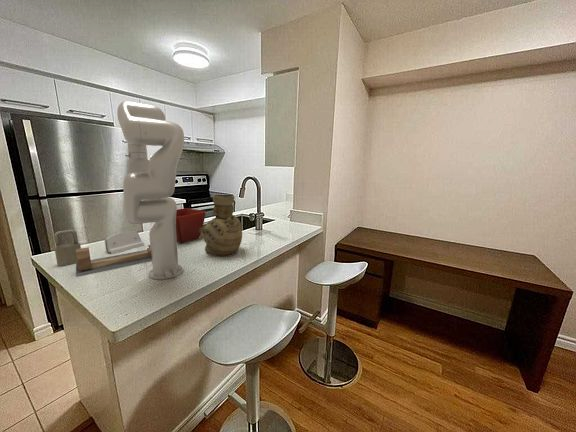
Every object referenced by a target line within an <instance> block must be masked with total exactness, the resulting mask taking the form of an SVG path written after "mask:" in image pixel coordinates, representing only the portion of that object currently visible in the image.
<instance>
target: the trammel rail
mask: <svg viewBox="0 0 576 432" xmlns="http://www.w3.org/2000/svg"><path fill="white" fill-rule="evenodd" d="M146 248H147V249H146V250H147V252H142V253H137V254H131V255H126V256H121V257H115V258H110V259H105V260H99V261H94V262H91V265H92V268H95V267H100V266H105V265H110V264H115V263H120V262H125V261H130V260H135V259H139V258H144V257H151V247H150V244H148V247H146Z"/></svg>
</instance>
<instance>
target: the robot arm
mask: <svg viewBox="0 0 576 432" xmlns="http://www.w3.org/2000/svg"><path fill="white" fill-rule="evenodd" d="M118 104H119V105H118V107H117V111H116V112H117V113H116V115H117V121H118V123H119V126H120V129H121V132H122V134H123V137H124V139H125V141H126V142H127V149H128V153H124V156H125V157H128V159H127V162H126V163H127V164H126V167H127V168H126V171H127V172H126V173H127V174H126V175H125V176H124V178H123V187H122V188H123V189H122V190H123V214H124V218H125V220H126V221H127V223H129V224H131V225H140V224H150V223H154V224H153V225H152V226H151V228H150V230H149V245H150V247H151V257H152V261H151V266H152V269H151V270H149V271H148V277H149V278H150V279H153V280H166V279H172V278H174V277H177V276H179V275H181V274H182V273H183V271H184V267H183V266H182V265H180V263H179V253H178V242H177V238H176V213H177V209H178V207H177V206H178V205H177V203H176V201H175V199H173V198H171V197H172V196H173V194H174V193H175V187H176V178H177V167H178V164H179V161H180V158H181V156H182V155H183V154H182V152H183V149H184V146H185V145H184V144H185V133H184V129H183V128H182V126H181V125H179V124H178V123H176V122H174V121H169V120H166V115H165V112H164V111H163V110H162V109H161V108H160V107H158V106H155V105H153V104H147V103H141V102H135V101H130V100H129V101H128V100H125V101H124V100H123V101H121V102H120V103H118ZM147 146H152V147H156V146H160V148H159V149H158V150H157V151H156V152H154V154H153V155H152V156H151V157H150V159H149V158H148V151H147V148H148V147H147Z"/></svg>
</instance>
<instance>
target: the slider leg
mask: <svg viewBox="0 0 576 432" xmlns="http://www.w3.org/2000/svg"><path fill="white" fill-rule="evenodd" d="M76 254H77V260H78V266H79V271H81V270H86V269H91V268H92V265H91V260H92V259H91V252H90V247H87V246H86V247H81V248H80V249H76Z"/></svg>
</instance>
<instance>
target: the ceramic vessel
mask: <svg viewBox="0 0 576 432" xmlns="http://www.w3.org/2000/svg"><path fill="white" fill-rule="evenodd" d="M234 200H235V195H233V194H213V195H212V202H213V205H214V207H213V211H212V216H214V217H213V218H212V219H211V220H209V221H208V222H207V223H206V225H205V226H203V227H202V228H200V229H199V232H200V237H199V238H200V239H204V242H205V246H204V251H205V253H206V254H208V255H211V256H214V257H218V258H224V257H225V258H226V257H230V256H234V255H235V254H236V253H238V251H239V249H240V247H241V244H242V240H243V227H242V223H241V220H240V219H239V218H238V217H236V216H235V215H234V214H233V213H234V209H235V208H234V205H233V204H234Z"/></svg>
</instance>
